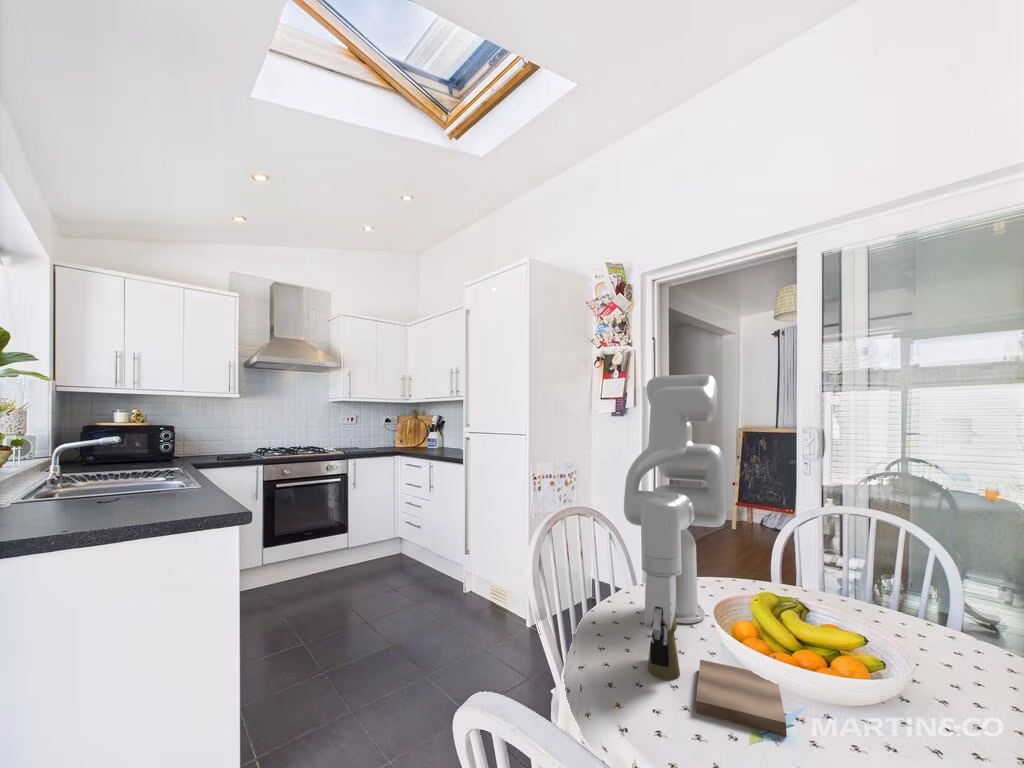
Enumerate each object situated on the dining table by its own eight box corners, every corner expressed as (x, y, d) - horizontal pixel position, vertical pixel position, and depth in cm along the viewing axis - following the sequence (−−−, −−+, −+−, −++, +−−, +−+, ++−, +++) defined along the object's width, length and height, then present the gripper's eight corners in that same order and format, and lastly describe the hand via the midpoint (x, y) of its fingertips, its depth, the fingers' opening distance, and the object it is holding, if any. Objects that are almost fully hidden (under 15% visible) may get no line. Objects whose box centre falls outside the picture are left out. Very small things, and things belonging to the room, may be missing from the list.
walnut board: (700, 670, 89) (700, 659, 89) (777, 687, 83) (776, 675, 83) (696, 713, 76) (695, 700, 76) (786, 736, 70) (786, 722, 71)
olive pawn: (644, 675, 87) (643, 615, 88) (650, 659, 92) (649, 604, 93) (677, 683, 84) (676, 622, 85) (682, 667, 89) (680, 610, 90)
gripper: (648, 548, 99) (650, 629, 98) (634, 574, 84) (635, 670, 83) (685, 553, 96) (687, 636, 95) (677, 580, 81) (679, 680, 79)
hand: (663, 652), depth 89 cm, fingers open, 9 cm apart
